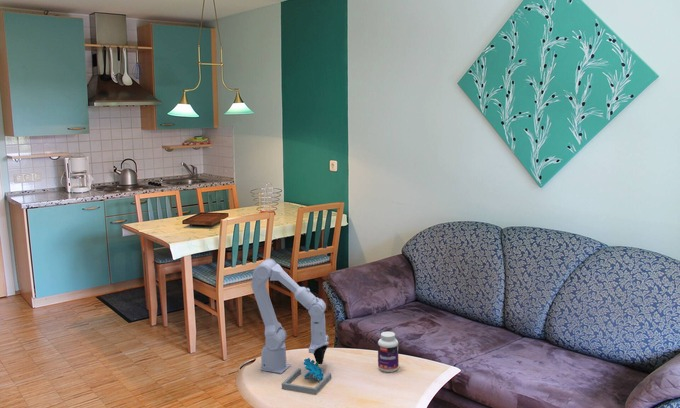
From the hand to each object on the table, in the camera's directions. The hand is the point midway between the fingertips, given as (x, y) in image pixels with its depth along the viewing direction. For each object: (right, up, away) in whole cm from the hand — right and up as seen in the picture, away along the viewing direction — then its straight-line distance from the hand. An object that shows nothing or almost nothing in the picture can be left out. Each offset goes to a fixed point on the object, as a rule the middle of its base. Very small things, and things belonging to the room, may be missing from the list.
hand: (319, 363), depth 234 cm
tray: (-4, -5, -9) cm, 11 cm away
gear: (-2, -4, -6) cm, 7 cm away
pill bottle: (+27, -2, 0) cm, 27 cm away
